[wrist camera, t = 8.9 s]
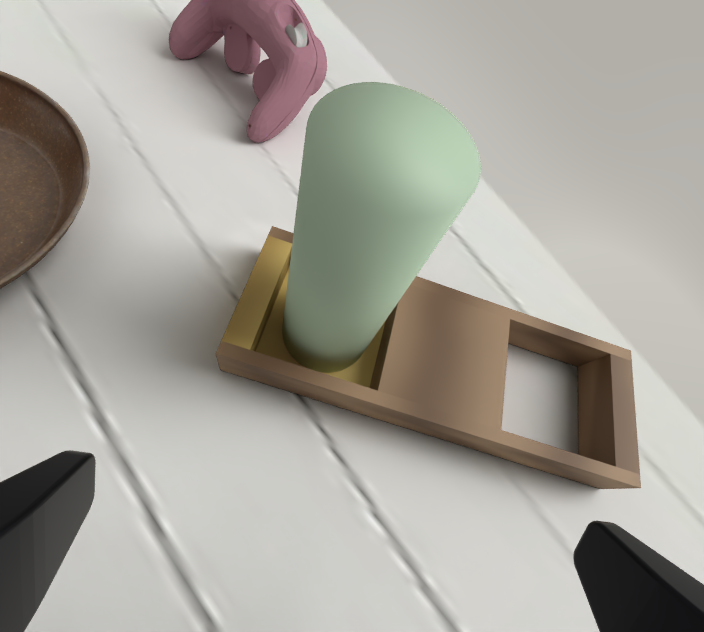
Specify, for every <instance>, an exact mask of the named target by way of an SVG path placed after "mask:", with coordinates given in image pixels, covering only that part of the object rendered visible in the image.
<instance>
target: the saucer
mask: <svg viewBox="0 0 704 632" xmlns="http://www.w3.org/2000/svg"><path fill="white" fill-rule="evenodd" d="M89 169H90V164H89V156H88V151H87V147H86V144H85V141H84V139H83V136H82V134H81V132H80V130H79V129H78V127H77V125H76V124H75V122H74V121H73V119H72V118H71V117H70V115H69V114H68V113H67V112H66V111H65V110H64V109H63V108H62V107H61V106H60V105H59V104H58V103H57V102H55V101H54V100H53V99H52V98H50V97H49V96H48V95H46V94H45V93H43V92H42V91H40V90H39V89H37V88H36V87H34V86H32V85H31V84H29V83H27V82H25V81H24V80H21V79H19V78H17V77H14V76H12V75H9V74H7V73H4V72H2V71H0V288H2V287H4V286H5V285H7V284H9V283H10V282H12V281H13V280H15V279H17V278H18V277H20V276H21V275H22V274H24V273H25V272H26V271H28V270H29V269H30V268H32V267H33V266H34V265H35V264H37V263H38V262H39V261H40V260H41V259H42V258H44V257H45V256H46V255H47V254H48V253H49V252H50V251H51V250H52V249H53V248H54V246H55V245H56V244H57V243H58V242H59V240H60V239H61V238H62V237H63V235H64V234H65V233H66V231H67V230H68V228H69V227H70V225H71V224H72V222H73V220H74V219H75V217H76V215H77V213H78V211H79V209H80V208H81V205H82V203H83V200H84V198H85V195H86V192H87V188H88V184H89Z"/></svg>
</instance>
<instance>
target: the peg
mask: <svg viewBox="0 0 704 632" xmlns="http://www.w3.org/2000/svg"><path fill="white" fill-rule="evenodd" d="M480 172H481V164H480V157H479V153H478V150H477V147H476V145H475V142H474V140H473V139H472V137H471V135H470V134H469V132H468V131H467V129H466V128H465V126H464V125H463V124H462V123H461V122H460V121H459V120H458V119H457V118H456V117H455V116H454V115H453V114H452V113H451V112H450V111H448V110H447V109H446V108H445V107H443V106H442V105H440V104H439V103H437V102H436V101H434V100H433V99H431V98H429V97H427V96H425V95H423V94H421V93H419V92H416V91H414V90H411V89H408V88H405V87H402V86H397V85H393V84H387V83H378V82H362V83H355V84H350V85H346V86H343V87H340V88H338V89H335V90H333V91H332V92H330V93H328V94H327V95H325V96H324V97H323V98H321V99H320V100H319V102H318V103H317V104H316V105H315V106H314V108H313V110H312V111H311V113H310V116H309V118H308V122H307V127H306V135H305V143H304V152H303V160H302V168H301V177H300V185H299V193H298V201H297V210H296V218H295V226H294V234H293V243H292V251H291V259H290V268H289V276H288V284H287V292H286V301H285V309H284V317H283V325H282V335H283V340H284V343H285V346H286V348H287V350H288V351H289V353H290V354H291V356H292V357H293V358H294V359H295V360H296V361H297V362H298V363H300V364H301V365H303V366H305V367H306V368H308V369H312V370H315V371H318V372H324V373H330V372H337V371H341V370H344V369H346V368H348V367H350V366H351V365H353V364H354V363H355V362H356V361H357V360H358V359H359V358H360V357H361V355H362V354H363V352H364V351H365V350H366V348H367V347H368V345H369V344H370V342H371V341H372V339H373V338H374V337H375V335H376V334H377V332H378V331H379V329H380V328H381V326H382V325H383V323H384V322H385V321H386V319H387V318H388V316H389V315H390V313H391V312H392V310H393V309H394V307H395V306H396V305H397V303H398V302H399V300H400V299H401V297H402V296H403V294H404V293H405V292H406V290H407V289H408V287H409V286H410V284H411V283H412V281H413V280H414V278H415V277H416V276H417V274H418V273H419V271H420V270H421V268H422V267H423V265H424V264H425V263H426V261H427V260H428V258H429V257H430V255H431V254H432V252H433V251H434V249H435V248H436V247H437V245H438V244H439V242H440V241H441V239H442V238H443V236H444V235H445V233H446V232H447V231H448V229H449V228H450V226H451V225H452V223H453V222H454V220H455V219H456V218H457V216H458V215H459V213H460V212H461V210H462V209H463V207H464V206H465V204H466V203H467V202H468V200H469V199H470V197H471V196H472V194H473V193H474V191H475V189H476V187H477V185H478V182H479V179H480Z"/></svg>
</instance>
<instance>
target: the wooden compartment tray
mask: <svg viewBox="0 0 704 632" xmlns="http://www.w3.org/2000/svg"><path fill="white" fill-rule="evenodd" d="M293 234H294V233H291V232H288V231H285V230H282V229H279V228H276V227H273V226H272V228H271V230H270V232H269V235H268V237H267V239H266V241H265V244H264V246H263V248H262V250H261V253H260V255H259V257H258V259H257V262H256V264H255V266H254V268H253V271H252V273H251V275H250V277H249V280H248V282H247V284H246V286H245V289H244V291H243V293H242V295H241V298H240V300H239V302H238V304H237V307H236V309H235V311H234V313H233V316H232V318H231V320H230V322H229V325H228V327H227V329H226V331H225V334H224V336H223V338H222V340H221V343H220V345H219V347H218V349H217V352H216V357H217V360H218V364H219V367H220V370H222V371H225V372H229V373H232V374H235V375H238V376H241V377H245V378H248V379H251V380H254V381H257V382H261V383H264V384H267V385H270V386H273V387H277V388H280V389H283V390H286V391H289V392H293V393H296V394H299V395H302V396H305V397H308V398H312V399H315V400H318V401H321V402H324V403H328V404H331V405H334V406H337V407H340V408H344V409H347V410H350V411H353V412H356V413H360V414H363V415H366V416H369V417H372V418H376V419H379V420H382V421H385V422H388V423H392V424H395V425H398V426H401V427H404V428H407V429H411V430H414V431H417V432H420V433H423V434H427V435H430V436H433V437H436V438H439V439H443V440H446V441H449V442H452V443H455V444H459V445H462V446H465V447H468V448H471V449H475V450H478V451H481V452H484V453H487V454H491V455H494V456H497V457H500V458H503V459H506V460H510V461H513V462H516V463H519V464H522V465H526V466H529V467H532V468H535V469H538V470H542V471H545V472H548V473H551V474H554V475H558V476H561V477H564V478H567V479H570V480H574V481H577V482H580V483H583V484H586V485H590V486H593V487H596V488H599V489H621V488H641V483H640V469H639V455H638V442H637V428H636V414H635V401H634V387H633V373H632V359H631V351H630V350H627V349H624V348H622V347H619V346H616V345H613V344H610V343H607V342H604V341H601V340H598V339H596V338H593V337H590V336H587V335H584V334H581V333H578V332H575V331H573V330H570V329H567V328H564V327H561V326H558V325H555V324H552V323H550V322H547V321H544V320H541V319H538V318H535V317H532V316H529V315H527V314H524V313H521V312H518V311H515V310H512V309H509V308H506V307H504V306H501V305H498V304H495V303H492V302H489V301H486V300H483V299H481V298H478V297H475V296H472V295H469V294H466V293H463V292H460V291H458V290H455V289H452V288H449V287H446V286H443V285H440V284H437V283H435V282H432V281H429V280H426V279H423V278H420V277H417V276H416V277H415V278H414V280H413V281H412V283H411V284H410V286H409V287H408V289H407V290H406V292H405V293H404V294H403V296H402V297H401V299H400V300H399V302H398V303H397V305H396V306H395V307H394V309H393V310H392V312H391V313H390V315H389V316H388V318H387V319H386V321H385V322H384V323H383V325H382V326H381V328H380V329H379V331H378V332H377V334H376V335H375V337H374V338H373V339H372V341H371V342H370V344H369V345H368V347H367V348H366V350H365V351H364V352H363V354H362V355H361V357H360V358H359V359H358V360H357V361H356V362H355V363H354V364H353V365H351V366H350V367H348V368H346V369H344V370H341V371H337V372H330V373H324V372H318V371H315V370H312V369H308V368H306V367H305V366H303V365H301V364H300V363H298V362H297V361H296V360H295V359H294V358H293V357H292V356H291V354H290V353H289V351H288V350H287V348H286V346H285V343H284V340H283V335H282V325H283V317H284V309H285V301H286V292H287V284H288V276H289V268H290V259H291V251H292V243H293ZM508 343H509V344H512V345H515V346H518V347H521V348H524V349H527V350H530V351H533V352H536V353H539V354H541V355H544V356H547V357H550V358H553V359H556V360H559V361H562V362H565V363H568V364H571V365H574V366H577V367H578V440H579V455H578V454H574V453H571V452H568V451H565V450H562V449H559V448H556V447H553V446H549V445H546V444H543V443H540V442H537V441H534V440H531V439H528V438H524V437H521V436H518V435H515V434H512V433H509V432H506V431H502V430H501V426H502V413H503V401H504V389H505V376H506V364H507V352H508Z"/></svg>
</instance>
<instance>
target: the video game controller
mask: <svg viewBox="0 0 704 632" xmlns="http://www.w3.org/2000/svg"><path fill="white" fill-rule="evenodd" d="M223 35H224V39H225V45H224V55H225V61H226V63H227V65H228V67H229V68H230V69H232V70H233V71H237V72H241V73H245V74H252V73H253V72H254V75H253V88H254V91H255V94H256V96H257V97H258V99H259V100H260V101H259V102H258V104H257V105H256V106H255V108H254V109H253V110H252V113H251V115H250V118H249V120H248V125H247V134H248V137H249V138H250V139H251V140H252V141H254V142H257V143H258V142H263V141H266V140H269V139H271V138H273V137H274V136H276V135H277V134H279V133H280V132H281V131H282V130H283V129H284V128H286V127H287V126H288V125H289V124H290V122H291V121H292V120H293V119H294V118H295V117H296V115H297V114H298V113H299V111H300V110H301V108H302V107H303V105H304V104H305V102H306V101H307V99H308V98H309V97H310V96H311V95H313V94H314V93H316V92H317V91H318V90H319V88H320V87H321V85H322V83H323V81H324V79H325V76H326V71H327V59H326V54H325V50H324V47H323V45H322V43H321V41H320V40H319V39H318V38H317V37H316V36H315V35H314V32H313V30H312V28H311V26H310V23H309V21H308V19H307V18H306V16H305V14H304V13H303V11H302V9H301V8H300V7H299V5H298V4H297V3H296V2H295V0H191V1H190V2H189V4H188V5H187V6H186V7H185V8H184V9H183V11H182V12H181V13H180V14H179V16H178V17H177V18H176V20H175V21H174V23H173V25H172V28H171V31H170V34H169V45H170V50H171V51H172V53H173V54H174V55H175V56H176V57H178V58H179V59H190V58H194V57H196V56H198V55H200V54H201V53H203V52H204V51H206V50H207V49H209V48H210V47H211V46H212V45H213V44H215V43H216V42H217V41H218V40H219V39H220V38H221V37H222V36H223ZM260 47H261V48H262V49H263V50H264V52H265V53H266V54H267V56H268V57H269V59H266V60H263V61H262V62H261V63H260V64H259V61H260Z"/></svg>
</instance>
